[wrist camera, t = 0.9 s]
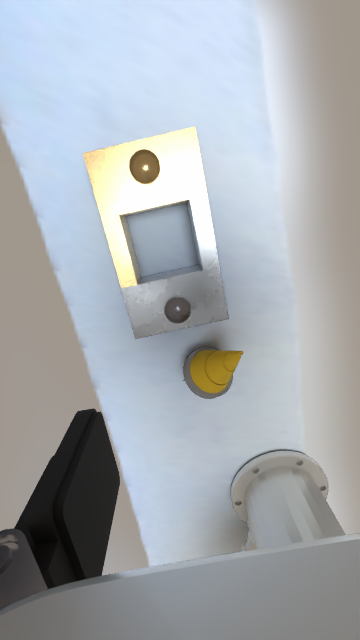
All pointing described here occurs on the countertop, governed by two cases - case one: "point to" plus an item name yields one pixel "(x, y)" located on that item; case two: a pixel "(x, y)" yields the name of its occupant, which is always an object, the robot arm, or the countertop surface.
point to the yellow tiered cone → (210, 371)
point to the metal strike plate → (149, 194)
